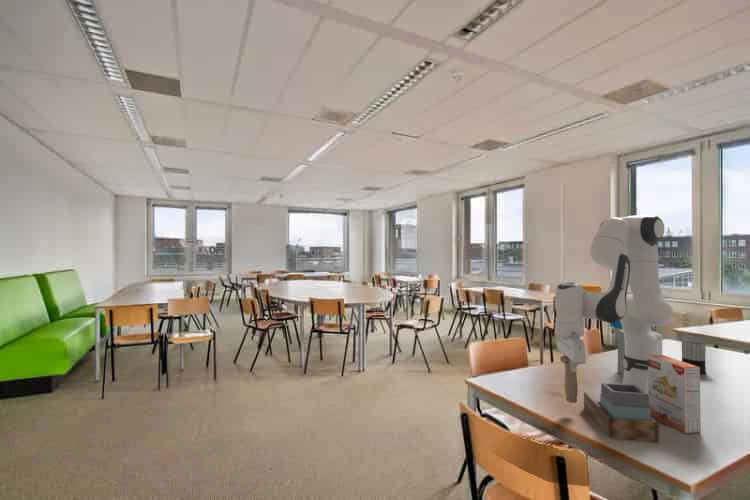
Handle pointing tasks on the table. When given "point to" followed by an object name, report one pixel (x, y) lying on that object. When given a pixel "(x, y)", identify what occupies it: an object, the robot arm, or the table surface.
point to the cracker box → (674, 393)
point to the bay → (621, 424)
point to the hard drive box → (622, 348)
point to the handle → (570, 381)
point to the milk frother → (694, 353)
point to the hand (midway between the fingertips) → (570, 369)
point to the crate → (625, 401)
